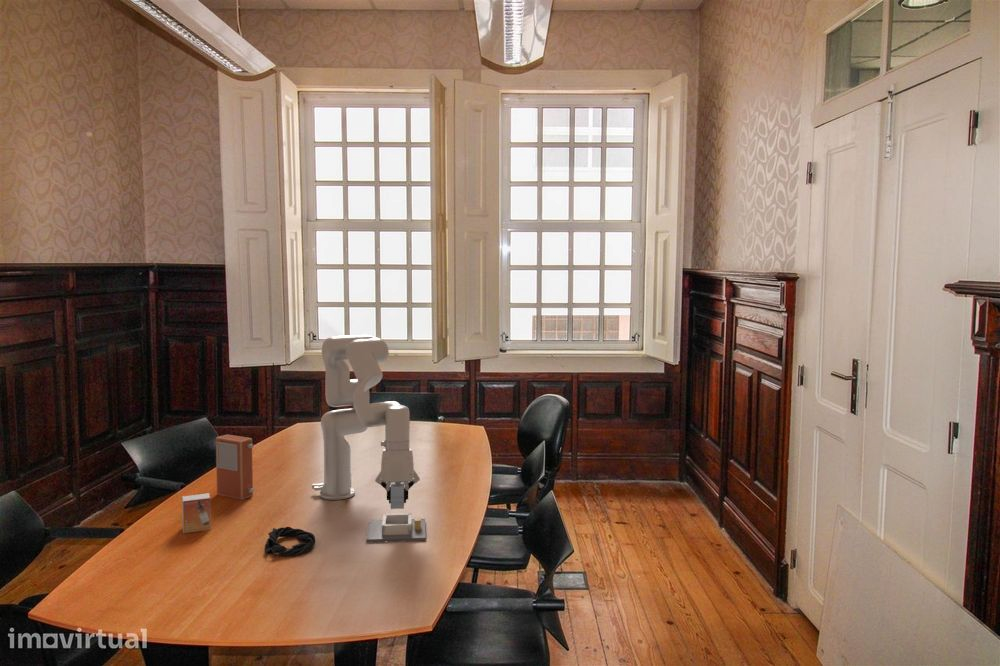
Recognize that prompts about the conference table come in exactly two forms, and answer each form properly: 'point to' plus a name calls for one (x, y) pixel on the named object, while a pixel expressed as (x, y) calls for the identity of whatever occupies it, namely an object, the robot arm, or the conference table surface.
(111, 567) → the conference table surface
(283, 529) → the cable
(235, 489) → the orange electrical enclosure
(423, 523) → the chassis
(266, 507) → the conference table surface
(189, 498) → the small box
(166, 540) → the conference table surface
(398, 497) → the block
